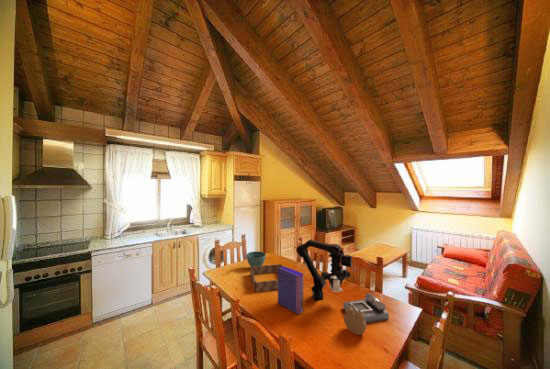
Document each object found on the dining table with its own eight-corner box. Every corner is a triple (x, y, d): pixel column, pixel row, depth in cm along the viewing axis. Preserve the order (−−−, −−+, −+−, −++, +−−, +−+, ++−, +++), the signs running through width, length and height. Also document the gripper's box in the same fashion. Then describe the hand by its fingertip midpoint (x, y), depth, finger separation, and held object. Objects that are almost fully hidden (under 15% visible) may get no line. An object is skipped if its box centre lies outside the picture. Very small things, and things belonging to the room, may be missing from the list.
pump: (334, 292, 134) (334, 281, 134) (328, 286, 142) (328, 276, 142) (342, 291, 135) (342, 280, 135) (336, 285, 143) (336, 275, 143)
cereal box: (303, 311, 129) (303, 273, 129) (298, 314, 126) (298, 275, 126) (282, 300, 141) (282, 265, 141) (277, 303, 138) (278, 267, 138)
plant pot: (242, 266, 197) (242, 254, 197) (257, 262, 210) (257, 250, 210) (254, 273, 184) (254, 259, 184) (269, 267, 196) (269, 254, 196)
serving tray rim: (254, 292, 151) (254, 282, 151) (250, 274, 181) (250, 266, 181) (291, 288, 158) (291, 278, 158) (281, 271, 187) (281, 263, 187)
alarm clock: (367, 335, 108) (367, 307, 108) (363, 341, 105) (363, 311, 105) (346, 325, 116) (346, 299, 116) (342, 330, 112) (342, 303, 112)
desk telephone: (358, 325, 117) (358, 309, 117) (343, 308, 132) (343, 294, 132) (388, 319, 121) (388, 304, 121) (370, 304, 137) (370, 290, 137)
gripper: (328, 270, 128) (328, 295, 128) (355, 267, 132) (355, 291, 132) (320, 263, 138) (320, 286, 138) (345, 261, 143) (345, 283, 143)
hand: (335, 287), depth 138 cm, fingers closed on pump, 5 cm apart
